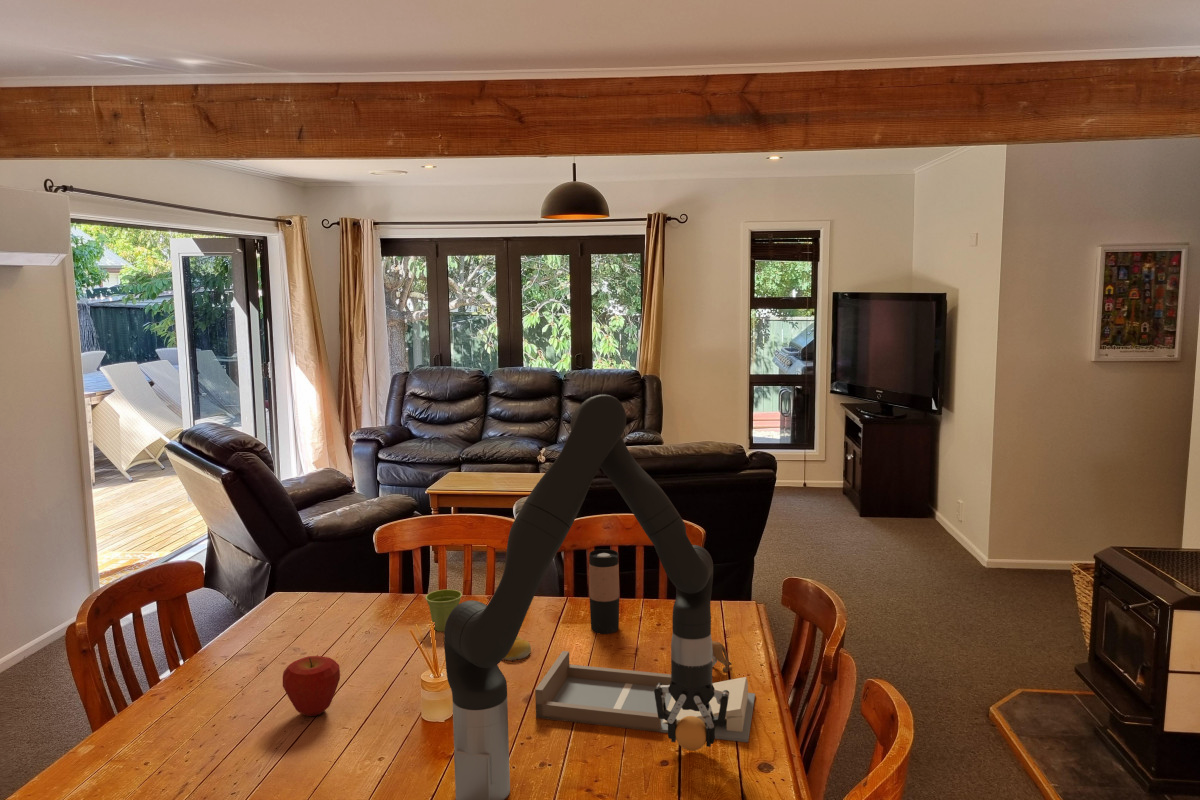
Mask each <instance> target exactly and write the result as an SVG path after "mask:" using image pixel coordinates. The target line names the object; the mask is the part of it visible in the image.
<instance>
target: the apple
mask: <svg viewBox="0 0 1200 800" xmlns="http://www.w3.org/2000/svg"><path fill="white" fill-rule="evenodd" d="M340 679H341V669H340V664H339V663H338V662H337V661H336V660H334V659H333V658H331V657H328V656H323V655H309V656H306V657H302V658H299V659H297V660H295V661H291V663H289V665H288V666H287V667H286V668H285V669H284V670H283V672H282V687H283V689H284V691H285V693H286V696H287V697H288V699H289V700H290V703H291V704H292V705H293V707H294V708H295V710H296V711H297V712H298V713H300V714H301V715H303V716H306V717H317V716H319V715H321V714H322V713H324V712H325V711H326V710H327V709H328V708H330V706H331V704H332V702H333V699H334V696H335V693H336V691H337V688H338V685H339V682H340Z"/></svg>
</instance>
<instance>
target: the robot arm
mask: <svg viewBox="0 0 1200 800" xmlns="http://www.w3.org/2000/svg"><path fill="white" fill-rule="evenodd" d="M626 425H627V412H626V409H625V407H624V405H623V403H622V402H621V401H620V400H619V399H618V398H617V397H614V396H613V395H609V394H598V395H594V396H591V397H589V398H587V399H585V400H584V401H583V402H581V404H580V405H579V406H577V408H576V409H575V410H574V412H573V413H572V416H571V419H570V433H569V434H568V436H567V438H566V441H565V443H564V446H563V447H562V449H561V451H560V452H559V454H558V456H557V458H556V459H555V461H554V462H553V463H552V464H551V465H550V466H549V467H548V469H547V470H546V471H545V473H544V474H543V475H542V477H541V478H540V479H539V481H538V482H537V483H536V485H535V486H534V488H533V489H532V490H531V491H530V494H529V495H528V496H527V498H526V500H525V501H524V503H523V505H522V506H521V508H520V510H519V512H518V514H517V515H516V517H515V518H514V521H513V522H512V524H511V527H510V530H509V533H508V537H507V538H508V539H507V545H506V553H505V563H504V570H503V573H502V576H501V579H500V582H499V584H498V586H497V587H496V589H495V591H494V594H493V595H492V597H491V598H490V601H489V602H488V604H485V603H483V602H481V601H478V600H465V601H463V602H459V605H457V606H456V607H455V608H454V609H453V610H452V611H451V613H450V615H449V616H448V619H447V621H446V625H445V630H444V631H443V633H444V634H443V646H444V657H445V670H446V677H447V678H446V679H447V682H448V686H449V688H450V691H451V694H452V695H451V697H452V723H453V747H454V749H453V750H454V752H453V753H454V754H453V760H454V761H453V762H454V785H455V787H454V789H455V800H505V799H507V798H508V796H509V795H510V792H511V783H510V782H511V776H510V748H509V747H510V746H509V745H510V742H509V741H510V740H509V718H508V717H509V715H508V714H509V709H508V708H509V707H508V706H509V705H508V703H509V702H508V683H507V680H506V677H505V675H504V674H503V672H502V671H501V669H500V667H499V664H500V663H501V662H502V661H503V660H505V659H504V658H505V657H506V655H507V654H508V653H509V651H510V649H511V648H512V646H513V644H514V642H515V640H516V637H517V636H518V634H519V633H520V631H521V628H522V625H523V623H524V621H525V618H526V616H527V613H528V611H529V609H530V606H531V604H532V602H533V600H534V597H535V596H536V593H537V591H538V589H539V587H540V585H541V583H542V581H543V579H544V578H545V575H546V574H547V572H548V569H549V568H550V566H551V564H552V563H553V560H554V558H555V556H556V554H557V553H558V551H559V550H560V548H561V547H562V545H563V543H564V541H565V539H566V537H567V535H568V533H569V532H570V530H571V528H572V526H573V524H574V522H575V519H576V518H577V515H578V514H579V512H580V510H581V507H582V506H583V503H584V501H585V498H586V496H587V495H588V491H589V490H590V487H591V485H592V482H593V480H594V478H595V476H596V475H597V473H598V471H599V470H600V469H601V471H602V473H604V474H605V475H606V477H607V478H608V480H609V481H610V482H611V483H612V485H613V486H614V488H615V489H616V490H617V492H618V493H619V494H620V496H621V497H622V499H623V500H624V502H625V503H626V505H627V506H628V508H629V509H630V511H631V513H632V515H634V517H635V519H636V521H637V522H638V524H639V525H640V526H641V528H642V530H643V531H644V533H645V534H646V536H647V538H648V540H649V541H650V542H651V543H652V545H653V546H654V548H655V552H656V554H657V556H658V557H657V558H658V559H659V560H660V563H661V565H662V568H663V570H664V572H665V574H666V576H667V577H668V579H669V581H670V583H672V585H673V586H674V587H675V590H676V591H675V593H676V596H675V600H674V603H673V607H672V633H671V634H672V636H671V642H670V643H671V644H670V670H671V671H670V672H671V673H670V674H671V683H670V685H662V684H661V683H657V685H656V687H655V690H654V694H655V700H656V707H657V713H658V718H659V719H665V720H666V721H667V722H668V733H667V737H668V739H670V741H671V743H676V742H677V740H676V736H675V730H676V726H677V719H676V717H677V715H678V713H679V711H680V709H681V708H682V710H694V711H700V713H701V715H702V717H703V718H704V719H705V721H706V723H707V728H706V743H705V745H706V747H707V748H710V747H711V746H712V745H714V743H715V740H716V739H715V727H716V726H723V725H724V721H725V717H726V711H727V705H728V699H729V691H727V690H724V691H723V692H722V691H718V690H715V689H714V687H713V684H712V683H713V667H712V661H713V659H712V655H713V649H712V641H713V640H712V639H713V638H712V612H711V599H712V592H713V583H714V562H713V559H712V556H711V554H710V553H709V551H708V550H707V549H706V548H704V547H703V546H700V545H696V544H692V542H691V541H690V538H689V537H688V534H687V527H686V524H685V522H684V520H683V518H682V516H681V514H680V513H679V511H678V510H677V509H676V507H675V506H674V504H673V503H672V501H671V499H670V498H669V497H668V495H667V494H666V493H665V491H664V490H663V489H662V488H661V486H660V485H659V484H658V483H657V482H656V481H655V480H654V479H653V478H652V477H651V476H650V474H648V473H647V472H646V471H645V470H644V469H643V468H642V467H641V466H640V464H639V463H638V462H637V460H636V459H635V458H634V456H633V455H632V454H631V452H630V450H629V448H628V447H627V444H626V443H625V441H624V440H623V437H622V436H623V434H624V432H625V430H626V427H627V426H626ZM667 692H669V693H670V694H671V696H672V697H673V698H674V700H675V701H676V702H675V704H674V706H673V708H672V710H671V712H670V711H668V710H666V703H665V697H666V695H667ZM713 697H715V698H716V699H717V703H718V704H720V710H719V716H714V714H713V712H712V709H711V706H710V703H709V702H710V700H711V699H712V698H713Z"/></svg>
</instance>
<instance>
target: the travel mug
mask: <svg viewBox="0 0 1200 800" xmlns="http://www.w3.org/2000/svg"><path fill="white" fill-rule="evenodd" d="M588 558H589V559H588V560H589V561H588V563H589V566H588V567H589V568H588V569H589V571H588V572H589V573H588V574H589V575H588V576H589V577H588V578H589V581H588V582H589V587H588V588H589V589H588V590H589V614H590V629H592V630H593V631H594V633H595V632H596V633H595V634H598V633H600V634H601V635H609V634H614V633H616V632H618V631H619V627H620V626H619V625H620V575H619V573H620V570H619V568H620V567H619V565H620V564H619V562H620V561H619V552H618V551H616V550H614V549H611V548H610V549H607V548H604V549H603V548H602V549H595V550H591V551H590V552H589V555H588ZM592 630H591V631H592ZM617 630H618V631H617ZM593 631H592V632H593ZM600 634H599V635H600Z"/></svg>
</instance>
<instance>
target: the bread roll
mask: <svg viewBox="0 0 1200 800" xmlns="http://www.w3.org/2000/svg"><path fill="white" fill-rule="evenodd" d="M531 648H532V647H531V644H530V641H528V640H525V639H522V638H521V637H520V636H518V635H517V637H516V640H515V642H514V644H513V646H512V648H511V649H510V651H509V653H508V654H507V655H506V657H505V658H504V659H503V660H505V661H515V660H516V659H518V660H522V658H523V659H525V658H527V657H528V656H529V655H530V654H531V650H532V649H531Z"/></svg>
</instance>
